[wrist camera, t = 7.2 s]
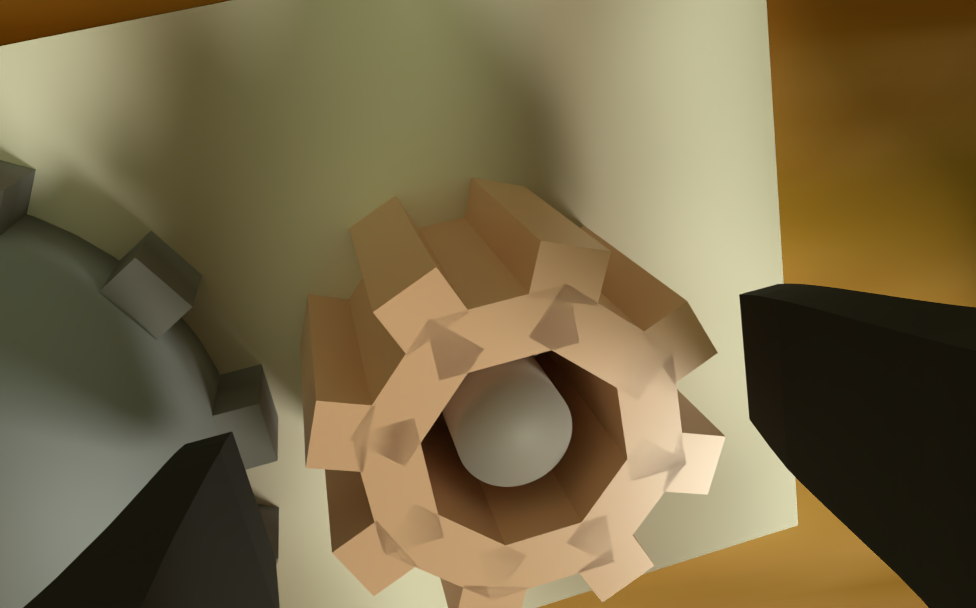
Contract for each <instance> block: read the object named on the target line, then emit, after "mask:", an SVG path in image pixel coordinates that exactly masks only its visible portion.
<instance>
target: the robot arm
mask: <svg viewBox="0 0 976 608" xmlns="http://www.w3.org/2000/svg"><path fill="white" fill-rule="evenodd" d="M739 299H740V311H741V323H742V335H743V348H744V360H745V372H746V384H747V397H748V409H749V420H750V421H751V422H752V424H753V425H754V426H755V428H756V429H757V430H758V432H759V433H760V434H761V436H762V437H763V439H764V440H765V441H766V443H767V444H768V445H769V447H770V448H771V449H772V450H773V452H774V453H775V454H776V455H777V457H778V458H779V459H780V460H781V462H782V463H783V464H784V465H785V467H786V468H787V469H788V470H789V471H790V472H791V473H792V474H793V475H794V476H795V477H796V478H797V479H798V480H799V481H800V482H801V483H802V484H803V485H804V486H805V487H806V488H807V489H808V490H809V491H810V492H811V493H812V494H813V495H814V496H815V497H816V498H817V499H818V500H819V501H820V502H822V503H823V504H824V505H825V506H826V507H827V508H828V509H829V510H830V511H831V512H832V513H833V514H834V515H835V516H836V517H837V518H838V519H839V520H840V521H842V522H843V523H844V524H845V525H846V526H847V527H848V528H849V529H850V530H851V531H852V532H853V533H854V534H855V535H856V536H857V537H858V538H859V539H861V540H862V541H863V542H864V543H865V544H866V545H867V546H868V547H869V548H870V549H871V550H872V551H873V552H874V553H875V554H876V555H877V556H879V557H880V558H881V559H882V560H883V561H884V562H885V563H886V564H887V565H888V566H889V567H890V568H891V569H892V570H893V571H894V572H895V573H896V574H898V575H899V576H900V578H901V579H902V580H903V581H904V582H905V583H906V584H907V585H908V586H909V587H910V588H911V589H912V590H913V591H914V592H915V593H916V594H917V595H918V596H919V597H920V598H921V599H922V600H923V601H924V603H925V604H926V605H927V606H928V607H929V608H976V308H975V307H966V306H957V305H949V304H942V303H934V302H927V301H920V300H913V299H906V298H899V297H893V296H886V295H879V294H873V293H866V292H860V291H853V290H846V289H839V288H832V287H824V286H815V285H805V284H776V285H772V286H769V287H765V288H761V289H758V290H754V291H750V292H746V293H743V294H739ZM23 608H280V605H279V591H278V580H277V568H276V558H275V555H274V552H273V549H272V546H271V543H270V540H269V537H268V534H267V532H266V529H265V526H264V523H263V520H262V517H261V514H260V511H259V508H258V505H257V502H256V499H255V496H254V494H253V491H252V488H251V485H250V482H249V479H248V476H247V473H246V470H245V467H244V464H243V461H242V458H241V456H240V453H239V450H238V447H237V444H236V441H235V438H234V435H233V432H228V433H224V434H220V435H217V436H213V437H209V438H206V439H202V440H198V441H195V442H191V443H187V444H185V445H184V446H182V447H181V448H180V449H179V450H178V451H177V452H176V453H175V454H174V455H173V456H172V457H171V458H170V459H169V460H168V461H167V462H166V463H165V464H164V465H163V466H162V467H161V469H160V470H159V471H158V472H157V473H156V474H155V475H154V476H153V477H152V479H151V480H150V481H149V482H148V483H147V484H146V485H145V486H144V487H143V489H142V490H141V491H140V492H139V493H138V494H137V495H136V496H135V497H134V498H133V500H132V501H131V502H130V503H129V504H128V505H127V506H126V507H125V508H124V509H123V511H122V512H121V513H120V514H119V515H118V516H117V517H116V518H115V519H114V520H113V521H112V523H111V524H110V525H109V526H108V527H107V528H106V529H105V530H104V531H103V532H102V533H101V534H100V535H99V536H98V537H97V538H96V539H95V540H94V541H93V542H92V543H91V544H90V545H89V546H88V547H87V548H86V549H85V550H84V551H83V552H82V553H81V554H80V555H79V556H78V557H77V558H76V559H75V560H74V561H73V562H72V563H71V564H70V565H69V566H68V567H67V568H66V569H65V570H64V571H63V572H62V573H61V574H60V575H59V576H58V577H57V578H56V579H54V580H53V581H52V582H51V583H50V584H49V585H48V586H47V587H46V588H45V589H44V590H42V591H41V592H40V593H39V594H38V595H37V596H36V597H35V598H33V599H32V600H31V601H30V602H29V603H28V604H27V605H25V606H24V607H23Z"/></svg>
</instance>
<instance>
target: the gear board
mask: <svg viewBox="0 0 976 608" xmlns="http://www.w3.org/2000/svg"><path fill="white" fill-rule="evenodd" d="M472 178H478V179H484V180H490V181H496V182H502V183H508V184H514V185H520V186H525V187H526V188H528V189H529V190H530V191H532V192H533V193H534V194H536V195H537V196H538V197H540V198H541V199H542V200H543V201H545V202H546V203H547V204H549V205H550V206H551V207H553V208H554V209H555V210H557V211H558V212H559V213H561V214H562V215H563V216H565V217H566V218H567V219H569V220H570V221H571V222H573V223H574V224H575V225H577V226H578V227H579V228H581V227H582V226H586V227H587V228H588V229H590V230H591V231H593V232H594V233H595V234H597V235H598V236H599V237H601V238H602V239H603V240H605V241H606V242H607V243H609V244H610V245H612V246H613V247H614V248H616V249H617V250H618V251H620V252H621V253H622V254H624V255H625V256H627V257H628V258H629V259H631V260H632V261H633V262H635V263H636V264H637V265H639V266H640V267H642V268H643V269H644V270H646V271H647V272H648V273H650V274H651V275H652V276H654V277H655V278H657V279H658V280H659V281H661V282H662V283H663V284H665V285H666V286H667V287H669V288H670V289H672V290H673V291H674V292H676V293H677V294H678V295H680V296H681V297H682V298H684V299H685V300H687V301H688V303H689V305H690V307H691V308H692V310H693V312H694V313H695V315H696V317H697V318H698V320H699V322H700V323H701V325H702V327H703V329H704V330H705V332H706V334H707V335H708V337H709V339H710V340H711V342H712V344H713V345H714V347H715V349H716V351H717V352H718V353H717V354H716V355H714V356H713V357H711V358H710V359H709V360H707V361H706V362H704V363H703V364H701V365H700V366H699V367H697V368H696V369H694V370H693V371H692V372H690V373H689V374H687V375H686V376H685V377H683V378H682V379H680V380H679V381H677V382H676V384H677V389H678V390H679V391H680V392H681V393H682V394H683V395H684V396H685V397H686V398H687V399H688V400H689V401H690V402H691V403H692V404H693V405H694V406H695V407H696V408H697V409H698V410H699V411H700V412H701V413H702V414H703V415H704V416H705V417H706V418H707V419H708V420H709V421H710V422H711V423H712V424H713V425H714V426H715V427H716V428H718V429H719V430H720V431H721V432H722V433H723V434H724V435H725V436H726V437H725V441H724V444H723V447H722V450H721V454H720V457H719V460H718V463H717V466H716V470H715V473H714V476H713V479H712V483H711V486H710V489H709V492H708V495H706V494H691V493H676V492H664V494H663V495H662V496H661V498H660V499H659V500H658V502H657V503H656V504H655V506H654V507H653V508H652V510H651V511H650V512H649V514H648V515H647V517H646V518H645V519H644V521H643V522H642V523H641V525H640V526H639V527H638V529H637V530H636V531H635V533H634V535H635V537H636V538H637V540H638V541H639V543H640V544H641V546H642V547H643V549H644V550H645V552H646V553H647V555H648V556H649V558H650V559H651V561H652V563H653V564H654V566H653V567H652V568H650V569H649V570H648V571H646V572H645V573H648V572H651V571H654V570H657V569H661V568H664V567H667V566H670V565H673V564H676V563H680V562H683V561H686V560H689V559H692V558H696V557H699V556H702V555H705V554H708V553H711V552H715V551H718V550H721V549H724V548H727V547H730V546H734V545H737V544H740V543H743V542H746V541H749V540H753V539H756V538H759V537H762V536H765V535H768V534H772V533H775V532H778V531H781V530H784V529H787V528H791V527H794V526H797V525H798V516H797V499H796V483H795V476H794V475H793V474H792V473H791V472H790V471H789V470H788V469H787V468H786V467H785V465H784V464H783V463H782V462H781V460H780V459H779V458H778V457H777V455H776V454H775V453H774V452H773V450H772V449H771V448H770V447H769V445H768V444H767V443H766V441H765V440H764V439H763V437H762V436H761V434H760V433H759V432H758V430H757V429H756V428H755V426H754V425H753V424H752V422H751V421H750V420H749V409H748V397H747V384H746V372H745V360H744V348H743V335H742V323H741V311H740V299H739V294H743V293H746V292H750V291H754V290H758V289H761V288H765V287H769V286H772V285H776V284H783V268H782V251H781V234H780V218H779V201H778V185H777V168H776V152H775V135H774V119H773V102H772V86H771V69H770V52H769V36H768V19H767V3H766V0H231V1H226V2H221V3H216V4H211V5H206V6H201V7H196V8H190V9H185V10H180V11H175V12H170V13H165V14H160V15H155V16H150V17H145V18H140V19H135V20H130V21H125V22H120V23H115V24H110V25H105V26H99V27H94V28H89V29H84V30H79V31H74V32H69V33H64V34H59V35H54V36H49V37H44V38H39V39H34V40H29V41H24V42H19V43H14V44H9V45H3V46H0V608H23V607H24V606H25V605H27V604H28V603H29V602H30V601H31V600H32V599H33V598H35V597H36V596H37V595H38V594H39V593H40V592H41V591H42V590H44V589H45V588H46V587H47V586H48V585H49V584H50V583H51V582H52V581H53V580H54V579H56V578H57V577H58V576H59V575H60V574H61V573H62V572H63V571H64V570H65V569H66V568H67V567H68V566H69V565H70V564H71V563H72V562H73V561H74V560H75V559H76V558H77V557H78V556H79V555H80V554H81V553H82V552H83V551H84V550H85V549H86V548H87V547H88V546H89V545H90V544H91V543H92V542H93V541H94V540H95V539H96V538H97V537H98V536H99V535H100V534H101V533H102V532H103V531H104V530H105V529H106V528H107V527H108V526H109V525H110V524H111V523H112V521H113V520H114V519H115V518H116V517H117V516H118V515H119V514H120V513H121V512H122V511H123V509H124V508H125V507H126V506H127V505H128V504H129V503H130V502H131V501H132V500H133V498H134V497H135V496H136V495H137V494H138V493H139V492H140V491H141V490H142V489H143V487H144V486H145V485H146V484H147V483H148V482H149V481H150V480H151V479H152V477H153V476H154V475H155V474H156V473H157V472H158V471H159V470H160V469H161V467H162V466H163V465H164V464H165V463H166V462H167V461H168V460H169V459H170V458H171V457H172V456H173V455H174V454H175V453H176V452H177V451H178V450H179V449H180V448H181V447H182V446H184V445H185V444H187V443H191V442H195V441H198V440H202V439H206V438H209V437H213V436H217V435H220V434H224V433H228V432H233V435H234V438H235V441H236V444H237V447H238V450H239V453H240V456H241V458H242V461H243V464H244V467H245V470H246V473H247V476H248V479H249V482H250V485H251V488H252V491H253V494H254V496H255V499H256V502H257V505H258V508H259V511H260V514H261V517H262V520H263V523H264V526H265V529H266V532H267V534H268V537H269V540H270V543H271V546H272V549H273V552H274V555H275V558H276V568H277V580H278V591H279V605H280V608H448V605H447V602H446V598H445V594H444V591H443V587H442V583H441V579H440V578H439V577H437V576H435V575H432V574H430V573H428V572H425V571H423V570H421V569H418V568H416V567H415V568H413V569H412V570H410V571H409V572H408V573H406V574H405V575H403V576H402V577H400V578H399V579H398V580H396V581H395V582H393V583H392V584H391V585H389V586H388V587H386V588H385V589H384V590H382V591H381V592H379V593H378V594H376V595H375V596H373V595H372V594H371V593H370V592H369V591H368V590H367V589H366V588H365V587H364V586H363V585H362V584H361V583H360V581H359V580H358V579H357V578H356V577H355V576H354V575H353V574H352V573H351V572H350V571H349V570H348V569H347V568H346V567H345V566H344V565H343V564H342V563H341V562H340V561H339V560H338V559H337V558H336V556H335V555H334V554H333V553H332V548H331V536H330V524H329V513H328V501H327V489H326V478H325V469H312V468H306V465H305V442H304V420H303V397H302V375H301V353H300V344H301V337H302V330H303V323H304V317H305V310H306V303H307V296H308V295H317V296H325V297H333V298H341V299H349V298H350V297H351V295H352V294H353V292H354V290H355V289H356V287H357V286H358V284H359V283H360V281H361V279H362V278H363V276H362V272H361V269H360V265H359V262H358V258H357V255H356V251H355V248H354V244H353V241H352V237H351V234H350V231H349V228H350V227H352V226H353V225H355V224H356V223H357V222H359V221H360V220H362V219H363V218H364V217H366V216H367V215H369V214H370V213H371V212H373V211H374V210H376V209H377V208H378V207H380V206H381V205H383V204H384V203H385V202H387V201H388V200H390V199H391V198H392V197H394V196H396V198H397V199H398V201H399V202H400V203H401V205H402V206H403V207H404V209H405V210H406V212H407V213H408V214H409V216H410V217H411V218H412V220H413V221H414V223H415V224H416V225H417V227H418V228H422V227H426V226H430V225H435V224H439V223H443V222H447V221H451V220H455V219H459V218H463V217H464V215H465V210H466V205H467V200H468V195H469V190H470V185H471V179H472ZM537 355H538V354H536V355H532V356H528V357H525V358H521V359H517V360H514V361H510V362H506V363H502V364H499V365H495V366H491V367H488V368H484V369H480V370H477V371H473V372H469V373H467V375H466V376H465V378H464V379H463V381H462V382H461V384H460V385H459V387H458V388H457V390H456V391H455V393H454V394H453V396H452V397H451V399H450V400H449V402H448V403H447V405H446V406H445V408H444V409H443V411H442V413H443V416H444V418H445V421H446V424H447V426H448V429H449V431H450V434H451V437H452V439H453V442H454V444H455V447H456V450H457V452H458V455H459V457H460V459H461V461H462V463H463V465H464V466H465V468H466V469H467V470H468V471H469V472H470V473H471V474H472V475H473V476H474V477H476V478H477V479H479V480H481V481H483V482H485V483H487V484H491V485H494V486H501V487H513V486H520V485H524V484H527V483H530V482H533V481H535V480H537V479H539V478H540V477H542V476H544V475H545V474H547V473H548V472H549V471H550V470H552V469H553V468H554V467H555V466H556V465H557V463H558V462H559V461H560V460H561V458H562V457H563V455H564V454H565V452H566V450H567V448H568V445H569V442H570V439H571V434H572V418H571V414H570V411H569V408H568V406H567V404H566V402H565V401H564V399H563V398H562V396H561V395H560V393H559V392H558V391H557V389H556V388H555V386H554V385H553V384H552V382H551V381H550V379H549V378H548V376H547V375H546V374H545V372H544V371H543V369H542V368H541V367H540V365H539V364H538V362H537V361H536V360H535V358H536V357H537ZM645 573H643V574H645ZM591 590H592V589H591V587H590V586H589V585H588V584H587V582H586V581H585V580H584V578H583V577H582V576H581V575H580V573H578V574H575V575H571V576H568V577H565V578H562V579H559V580H555V581H552V582H549V583H546V584H543V585H539V586H536V587H533V588H530V589H527V590H526V593H525V597H524V601H523V605H522V608H537V607H540V606H543V605H547V604H550V603H553V602H556V601H559V600H562V599H566V598H569V597H572V596H575V595H578V594H581V593H585V592H588V591H591Z"/></svg>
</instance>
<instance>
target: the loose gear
mask: <svg viewBox="0 0 976 608" xmlns="http://www.w3.org/2000/svg"><path fill="white" fill-rule="evenodd" d="M349 231H350V234H351V237H352V241H353V244H354V248H355V251H356V255H357V258H358V262H359V265H360V269H361V272H362V276H363V278H362V279H361V281H360V283H359V284H358V286H357V287H356V289H355V290H354V292H353V294H352V295H351V297H350V298H349V299H341V298H333V297H325V296H317V295H308V296H307V303H306V310H305V317H304V323H303V330H302V337H301V344H300V353H301V375H302V397H303V420H304V442H305V465H306V468H312V469H325V478H326V489H327V501H328V513H329V524H330V536H331V548H332V553H333V554H334V555H335V556H336V558H337V559H338V560H339V561H340V562H341V563H342V564H343V565H344V566H345V567H346V568H347V569H348V570H349V571H350V572H351V573H352V574H353V575H354V576H355V577H356V578H357V579H358V580H359V581H360V583H361V584H362V585H363V586H364V587H365V588H366V589H367V590H368V591H369V592H370V593H371V594H372V595H373V596H375V595H376V594H378V593H379V592H381V591H382V590H384V589H385V588H386V587H388V586H389V585H391V584H392V583H393V582H395V581H396V580H398V579H399V578H400V577H402V576H403V575H405V574H406V573H408V572H409V571H410V570H412V569H413V568H415V567H416V568H418V569H421V570H423V571H425V572H428V573H430V574H432V575H435V576H437V577H439V578H440V579H441V583H442V587H443V591H444V594H445V598H446V602H447V605H448V608H522V605H523V601H524V597H525V593H526V590H527V589H530V588H533V587H536V586H539V585H543V584H546V583H549V582H552V581H555V580H559V579H562V578H565V577H568V576H571V575H575V574H578V573H580V575H581V576H582V577H583V578H584V580H585V581H586V582H587V584H588V585H589V586H590V587H591V589H592V590H593V591H594V592H595V594H596V595H597V596H598V597H599V599H600V600H601V601H602V602H604V601H605V600H607V599H608V598H609V597H611V596H612V595H614V594H615V593H616V592H618V591H619V590H621V589H622V588H624V587H625V586H626V585H628V584H629V583H631V582H632V581H633V580H635V579H636V578H638V577H639V576H641V575H642V574H643V573H645V572H646V571H648V570H649V569H650V568H652V567H653V566H654V564H653V563H652V561H651V559H650V558H649V556H648V555H647V553H646V552H645V550H644V549H643V547H642V546H641V544H640V543H639V541H638V540H637V538H636V537H635V535H634V533H635V531H636V530H637V529H638V527H639V526H640V525H641V523H642V522H643V521H644V519H645V518H646V517H647V515H648V514H649V512H650V511H651V510H652V508H653V507H654V506H655V504H656V503H657V502H658V500H659V499H660V498H661V496H662V495H663V494H664V492H676V493H691V494H706V495H708V492H709V489H710V486H711V483H712V479H713V476H714V473H715V470H716V466H717V463H718V460H719V457H720V454H721V450H722V447H723V444H724V441H725V437H726V436H725V435H724V434H723V433H722V432H721V431H720V430H719V429H718V428H716V427H715V426H714V425H713V424H712V423H711V422H710V421H709V420H708V419H707V418H706V417H705V416H704V415H703V414H702V413H701V412H700V411H699V410H698V409H697V408H696V407H695V406H694V405H693V404H692V403H691V402H690V401H689V400H688V399H687V398H686V397H685V396H684V395H683V394H682V393H681V392H680V391H679V390H678V389H677V384H676V382H677V381H679V380H680V379H682V378H683V377H685V376H686V375H687V374H689V373H690V372H692V371H693V370H694V369H696V368H697V367H699V366H700V365H701V364H703V363H704V362H706V361H707V360H709V359H710V358H711V357H713V356H714V355H716V354H717V353H718V352H717V351H716V349H715V347H714V345H713V344H712V342H711V340H710V339H709V337H708V335H707V334H706V332H705V330H704V329H703V327H702V325H701V323H700V322H699V320H698V318H697V317H696V315H695V313H694V312H693V310H692V308H691V307H690V305H689V303H688V301H687V300H685V299H684V298H682V297H681V296H680V295H678V294H677V293H676V292H674V291H673V290H672V289H670V288H669V287H667V286H666V285H665V284H663V283H662V282H661V281H659V280H658V279H657V278H655V277H654V276H652V275H651V274H650V273H648V272H647V271H646V270H644V269H643V268H642V267H640V266H639V265H637V264H636V263H635V262H633V261H632V260H631V259H629V258H628V257H627V256H625V255H624V254H622V253H621V252H620V251H618V250H617V249H616V248H614V247H613V246H612V245H610V244H609V243H607V242H606V241H605V240H603V239H602V238H601V237H599V236H598V235H597V234H595V233H594V232H593V231H591V230H590V229H588V228H587V227H586V226H582V227H581V228H579V227H578V226H577V225H575V224H574V223H573V222H571V221H570V220H569V219H567V218H566V217H565V216H563V215H562V214H561V213H559V212H558V211H557V210H555V209H554V208H553V207H551V206H550V205H549V204H547V203H546V202H545V201H543V200H542V199H541V198H540V197H538V196H537V195H536V194H534V193H533V192H532V191H530V190H529V189H528V188H526V187H525V186H520V185H514V184H508V183H502V182H496V181H490V180H484V179H478V178H472V179H471V185H470V190H469V195H468V200H467V205H466V210H465V215H464V217H463V218H459V219H455V220H451V221H447V222H443V223H439V224H435V225H430V226H426V227H422V228H418V227H417V225H416V224H415V223H414V221H413V220H412V218H411V217H410V216H409V214H408V213H407V212H406V210H405V209H404V207H403V206H402V205H401V203H400V202H399V201H398V199H397V198H396V196H394V197H392V198H391V199H390V200H388V201H387V202H385V203H384V204H383V205H381V206H380V207H378V208H377V209H376V210H374V211H373V212H371V213H370V214H369V215H367V216H366V217H364V218H363V219H362V220H360V221H359V222H357V223H356V224H355V225H353V226H352V227H350V228H349ZM536 354H538V355H537V357H536V358H535V360H536V361H537V362H538V364H539V365H540V367H541V368H542V369H543V371H544V372H545V374H546V375H547V376H548V378H549V379H550V381H551V382H552V384H553V385H554V386H555V388H556V389H557V391H558V392H559V393H560V395H561V396H562V398H563V399H564V401H565V402H566V404H567V406H568V408H569V411H570V414H571V418H572V434H571V439H570V442H569V445H568V448H567V450H566V452H565V454H564V455H563V457H562V458H561V460H560V461H559V462H558V463H557V465H556V466H555V467H554V468H553V469H552V470H550V471H549V472H548V473H547V474H545V475H544V476H542V477H540V478H539V479H537V480H535V481H533V482H530V483H527V484H524V485H520V486H513V487H501V486H494V485H491V484H487V483H485V482H483V481H481V480H479V479H477V478H476V477H474V476H473V475H472V474H471V473H470V472H469V471H468V470H467V469H466V468H465V466H464V465H463V463H462V461H461V459H460V457H459V455H458V452H457V450H456V447H455V444H454V442H453V439H452V437H451V434H450V431H449V429H448V426H447V424H446V421H445V418H444V416H443V413H442V411H443V409H444V408H445V406H446V405H447V403H448V402H449V400H450V399H451V397H452V396H453V394H454V393H455V391H456V390H457V388H458V387H459V385H460V384H461V382H462V381H463V379H464V378H465V376H466V375H467V373H469V372H473V371H477V370H480V369H484V368H488V367H491V366H495V365H499V364H502V363H506V362H510V361H514V360H517V359H521V358H525V357H528V356H532V355H536Z"/></svg>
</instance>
